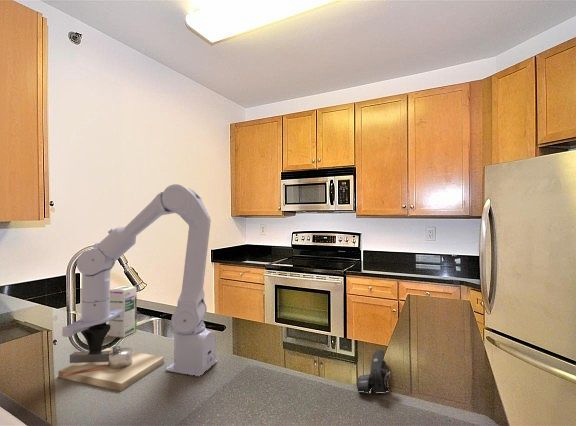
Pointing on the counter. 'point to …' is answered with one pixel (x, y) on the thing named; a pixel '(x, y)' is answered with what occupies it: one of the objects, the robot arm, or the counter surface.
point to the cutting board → (112, 371)
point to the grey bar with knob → (105, 357)
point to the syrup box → (127, 302)
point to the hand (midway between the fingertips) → (94, 356)
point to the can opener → (375, 375)
